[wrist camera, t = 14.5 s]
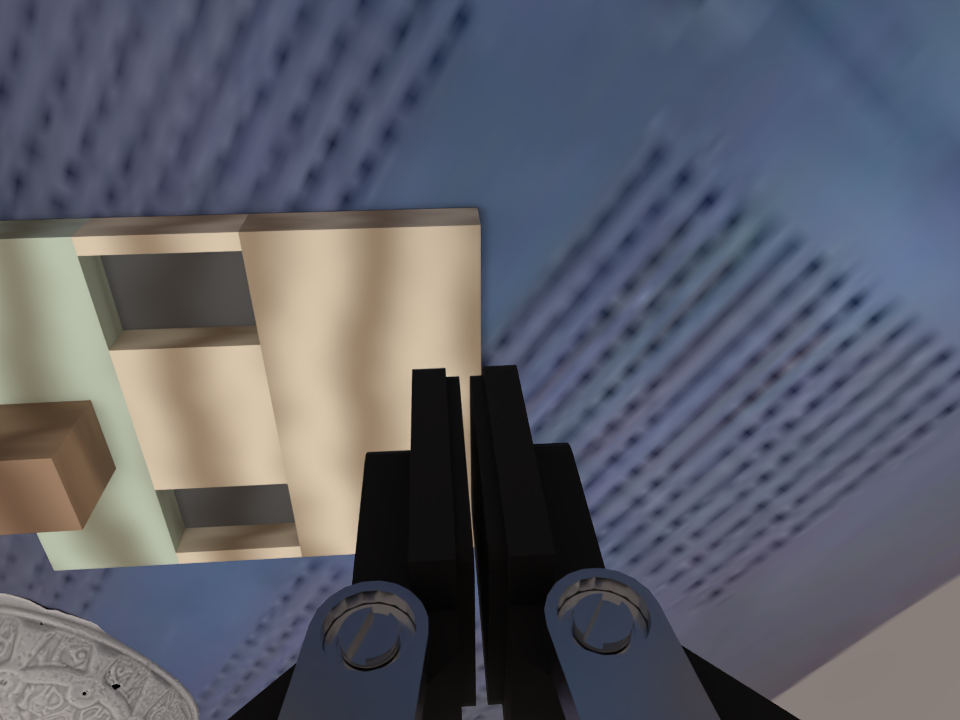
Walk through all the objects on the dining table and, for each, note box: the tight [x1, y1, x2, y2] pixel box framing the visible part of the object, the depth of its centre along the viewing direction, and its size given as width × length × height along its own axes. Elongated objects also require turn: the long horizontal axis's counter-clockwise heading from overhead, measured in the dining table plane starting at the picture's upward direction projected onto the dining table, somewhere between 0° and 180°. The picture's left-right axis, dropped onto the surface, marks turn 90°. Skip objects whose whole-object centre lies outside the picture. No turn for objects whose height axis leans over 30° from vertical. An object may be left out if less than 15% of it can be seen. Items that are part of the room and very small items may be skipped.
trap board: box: [0, 208, 481, 571], centre depth 42 cm, size 28×23×2 cm
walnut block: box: [0, 400, 116, 535], centre depth 39 cm, size 5×5×5 cm
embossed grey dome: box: [0, 593, 200, 720], centre depth 55 cm, size 16×25×7 cm, turn 40°
